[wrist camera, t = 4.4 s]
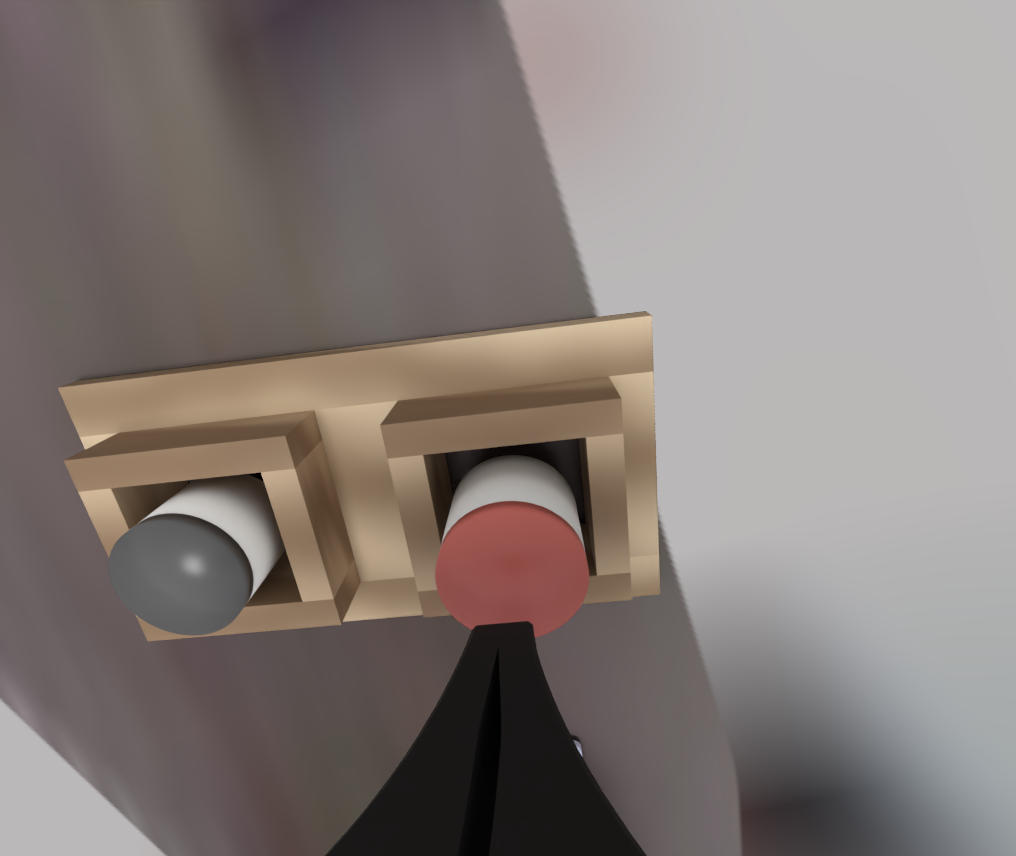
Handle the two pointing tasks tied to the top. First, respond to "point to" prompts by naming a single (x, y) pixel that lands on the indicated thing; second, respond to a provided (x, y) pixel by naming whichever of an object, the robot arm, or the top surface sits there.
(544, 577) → the plug red
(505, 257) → the top surface
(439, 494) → the socket panel
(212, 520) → the grey plug
